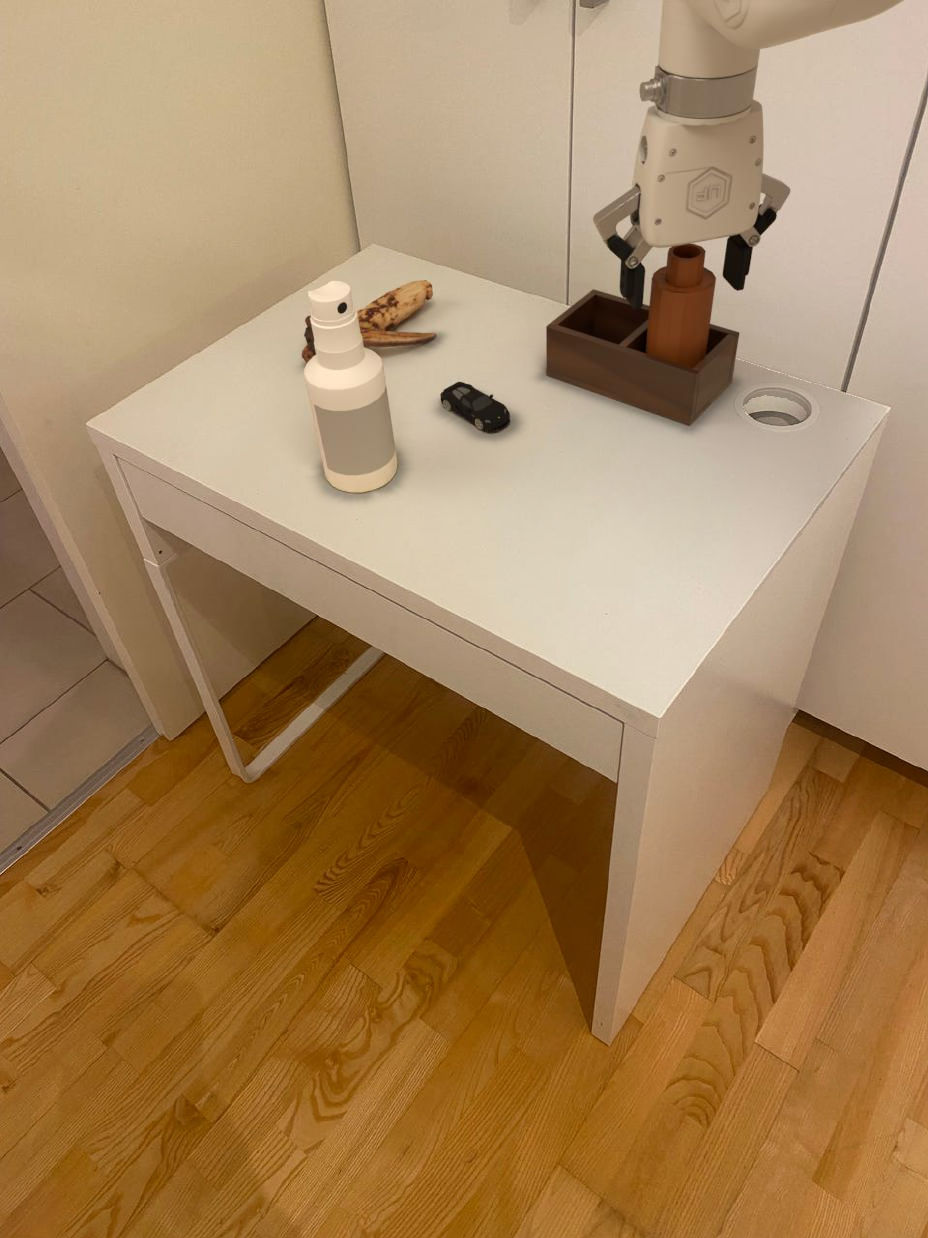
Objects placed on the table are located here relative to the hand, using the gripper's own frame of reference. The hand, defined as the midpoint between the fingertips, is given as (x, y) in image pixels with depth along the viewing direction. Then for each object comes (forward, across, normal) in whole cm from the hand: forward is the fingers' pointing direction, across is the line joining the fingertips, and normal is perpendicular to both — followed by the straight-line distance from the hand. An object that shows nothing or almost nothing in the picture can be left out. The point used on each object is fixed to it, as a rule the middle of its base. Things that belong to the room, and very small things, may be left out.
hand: (682, 292), depth 87 cm
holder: (+10, -2, +3) cm, 11 cm away
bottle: (+10, 0, 0) cm, 10 cm away
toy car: (+11, -20, +2) cm, 22 cm away
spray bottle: (+11, -32, -3) cm, 34 cm away
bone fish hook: (+11, -26, +19) cm, 34 cm away
